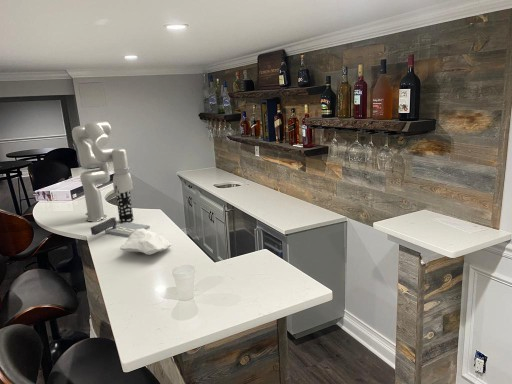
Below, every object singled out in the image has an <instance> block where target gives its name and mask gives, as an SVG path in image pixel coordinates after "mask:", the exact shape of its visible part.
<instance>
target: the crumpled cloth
mask: <svg viewBox="0 0 512 384" xmlns="http://www.w3.org/2000/svg"><path fill="white" fill-rule="evenodd" d="M157 234H158V233H156V232H154V231H150V230H148V229H147V230H146V229H143V228H142V229H136V230H135V231H134V232H133V233H132V234H131V235H130V236H129V237H127V240H126V241H125V242H124V244H122V245H121V246H120V248H119V249H120V250H121V251H124V252H130V253H131V252H132V253H133V252H134V253H135V252H137V253H144V254H145V255H153V254H156V253H158V252H162V251H165V250H167V248H171V246H172V243H171V242H170V241H168V240H167V239H166V238H164V237H163V236H162V235H157Z"/></svg>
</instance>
